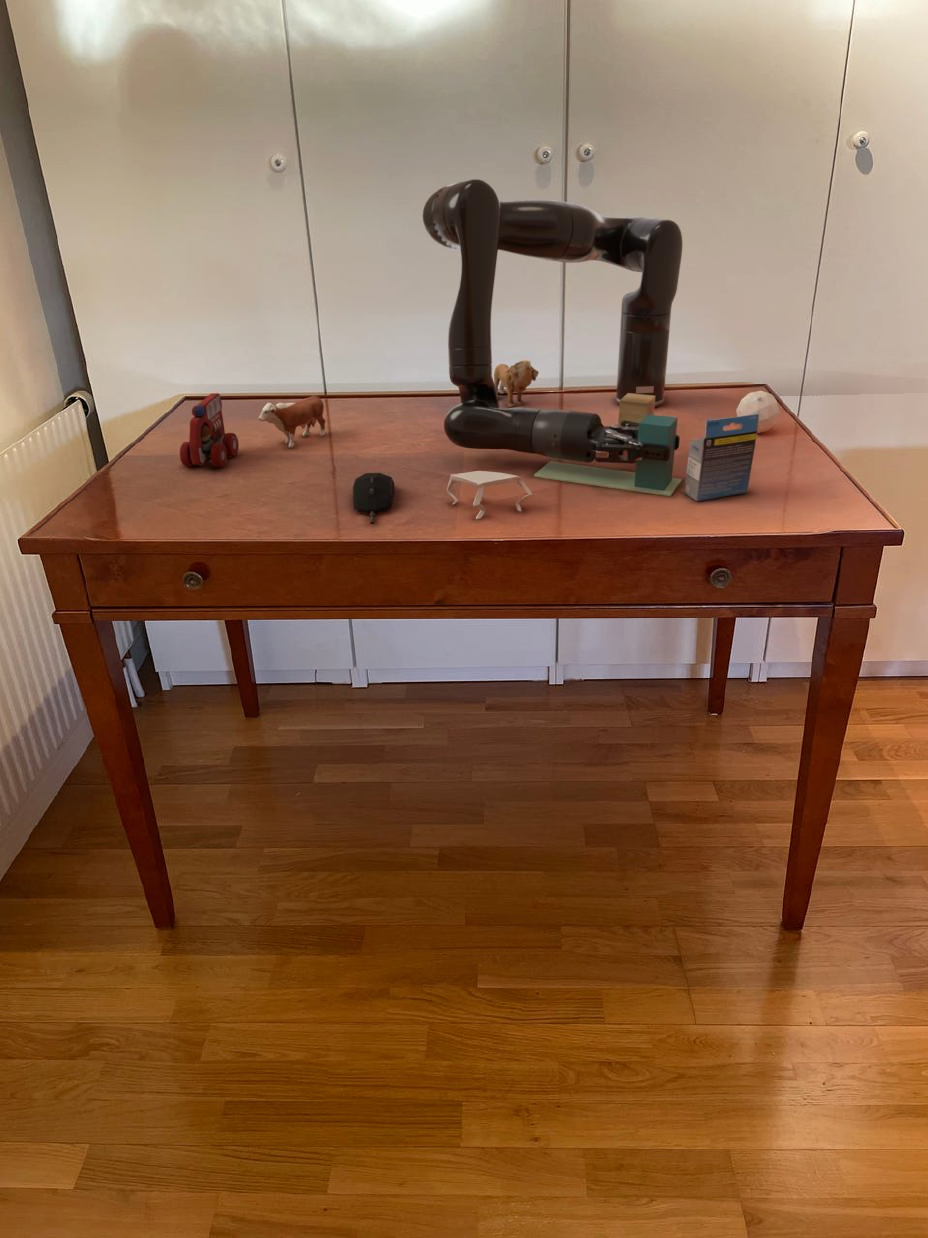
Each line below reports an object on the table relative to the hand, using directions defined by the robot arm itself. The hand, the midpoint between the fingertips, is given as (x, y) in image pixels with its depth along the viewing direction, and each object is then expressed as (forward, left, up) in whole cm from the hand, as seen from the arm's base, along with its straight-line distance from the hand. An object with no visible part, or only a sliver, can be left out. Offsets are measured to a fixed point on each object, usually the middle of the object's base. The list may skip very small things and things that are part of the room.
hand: (673, 448), depth 132 cm
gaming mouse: (+23, -39, -7) cm, 46 cm away
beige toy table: (+18, -22, -7) cm, 29 cm away
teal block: (0, -3, -6) cm, 7 cm away
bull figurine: (+3, -67, -7) cm, 67 cm away
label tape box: (0, +7, -7) cm, 9 cm away
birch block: (-11, -9, -6) cm, 16 cm away
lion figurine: (-34, -41, -7) cm, 54 cm away
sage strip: (0, -10, -6) cm, 12 cm away
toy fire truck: (+17, -75, -7) cm, 77 cm away
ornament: (-32, +7, -7) cm, 33 cm away
